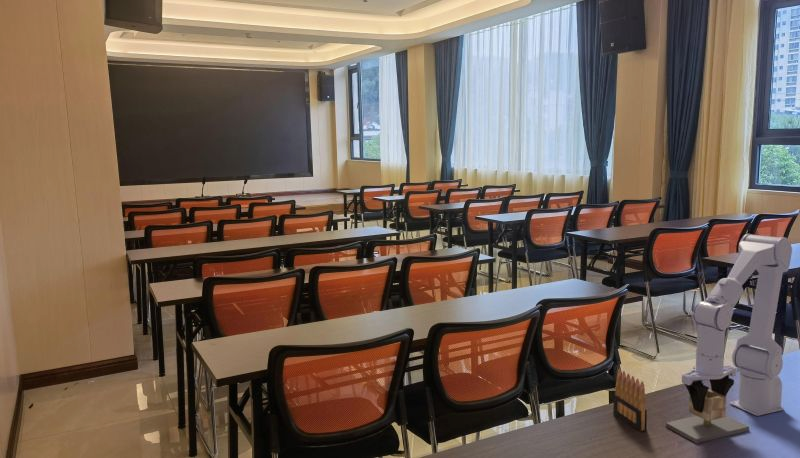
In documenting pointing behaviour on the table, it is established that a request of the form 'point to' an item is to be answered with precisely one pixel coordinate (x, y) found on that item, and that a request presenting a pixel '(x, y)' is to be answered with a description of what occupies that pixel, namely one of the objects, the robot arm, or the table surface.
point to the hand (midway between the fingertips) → (707, 408)
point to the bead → (711, 406)
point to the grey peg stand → (706, 428)
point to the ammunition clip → (630, 401)
